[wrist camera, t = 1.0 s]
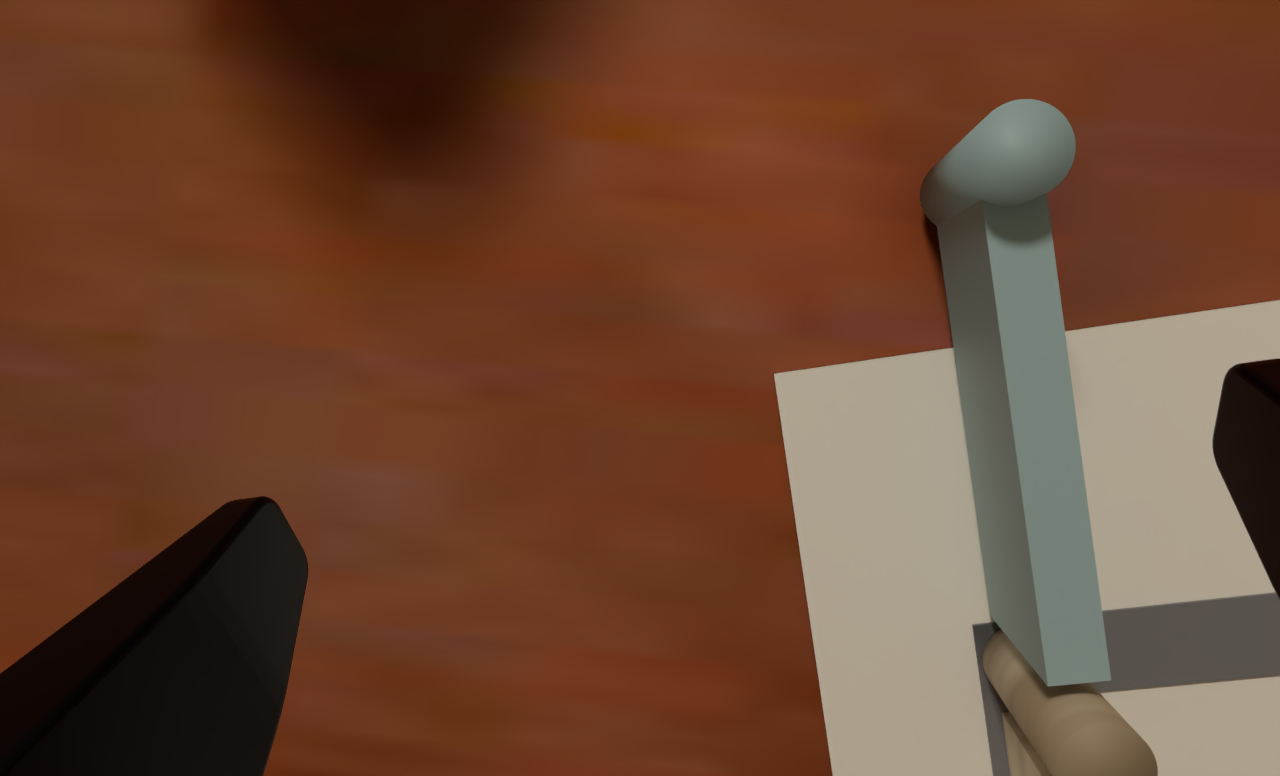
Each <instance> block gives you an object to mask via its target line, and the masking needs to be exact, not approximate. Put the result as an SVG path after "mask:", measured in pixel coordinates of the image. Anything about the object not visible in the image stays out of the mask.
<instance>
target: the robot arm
mask: <svg viewBox="0 0 1280 776" xmlns="http://www.w3.org/2000/svg"><path fill="white" fill-rule="evenodd" d="M1212 448H1213V454H1214V458H1215V462H1216V465H1217V467H1218V469H1219V472H1220V474H1221V476H1222V478H1223V480H1224V482H1225V485H1226V487H1227V489H1228V491H1229V493H1230V495H1231V498H1232V500H1233V502H1234V504H1235V506H1236V508H1237V511H1238V513H1239V515H1240V517H1241V519H1242V521H1243V524H1244V526H1245V528H1246V530H1247V532H1248V534H1249V537H1250V539H1251V541H1252V543H1253V545H1254V547H1255V550H1256V552H1257V554H1258V556H1259V558H1260V560H1261V563H1262V565H1263V567H1264V569H1265V571H1266V573H1267V575H1268V578H1269V580H1270V582H1271V584H1272V586H1273V588H1274V590H1275V592H1276V594H1277V596H1278V598H1279V600H1280V359H1279V358H1277V359H1269V360H1261V361H1254V362H1247V363H1240V364H1236V365H1234V366H1233V367H1231V368H1230V369H1229V370H1228V371H1227V373H1226V375H1225V377H1224V381H1223V385H1222V390H1221V395H1220V401H1219V406H1218V411H1217V416H1216V422H1215V427H1214V432H1213V439H1212ZM307 579H308V563H307V558H306V555H305V552H304V550H303V548H302V546H301V545H300V543H299V541H298V539H297V537H296V536H295V534H294V532H293V530H292V529H291V527H290V525H289V523H288V521H287V520H286V518H285V516H284V514H283V513H282V511H281V509H280V507H279V506H278V504H277V503H276V502H275V501H274V500H272V499H271V498H268V497H264V496H261V497H254V498H247V499H239V500H233V501H230V502H228V503H226V504H224V505H223V506H221V507H220V508H219V509H218V510H216V511H215V512H214V513H212V514H211V515H210V516H208V517H207V518H206V519H204V520H203V521H202V522H200V523H199V524H198V525H196V526H195V527H194V528H192V529H191V530H190V531H188V532H187V533H186V534H184V535H183V536H182V537H180V538H179V539H178V540H177V541H175V542H174V543H173V544H171V545H170V546H169V547H167V548H166V549H165V550H163V551H162V552H161V553H159V554H158V555H157V556H155V557H154V558H153V559H151V560H150V561H149V562H147V563H146V564H145V565H143V566H142V567H141V568H140V569H138V570H137V571H136V572H134V573H133V574H132V575H130V576H129V577H128V578H126V579H125V580H124V581H122V582H121V583H120V584H118V585H117V586H116V587H114V588H113V589H112V590H110V591H109V592H108V593H106V594H105V595H104V596H102V597H101V598H100V599H99V600H97V601H96V602H95V603H93V604H92V605H91V606H89V607H88V608H87V609H85V610H84V611H83V612H81V613H80V614H79V615H77V616H76V617H75V618H73V619H72V620H71V621H69V622H68V623H67V624H65V625H64V626H63V627H62V628H60V629H59V630H58V631H56V632H55V633H54V634H52V635H51V636H50V637H48V638H47V639H46V640H44V641H43V642H42V643H40V644H39V645H38V646H36V647H35V648H34V649H32V650H31V651H30V652H28V653H27V654H26V655H24V656H23V657H22V658H21V659H19V660H18V661H17V662H15V663H14V664H13V665H11V666H10V667H9V668H7V669H6V670H5V671H3V672H2V673H1V674H0V776H263V774H264V771H265V767H266V764H267V761H268V757H269V754H270V751H271V747H272V744H273V741H274V738H275V734H276V730H277V727H278V723H279V719H280V716H281V712H282V708H283V703H284V699H285V694H286V690H287V685H288V679H289V674H290V669H291V663H292V658H293V653H294V647H295V642H296V637H297V632H298V626H299V621H300V616H301V610H302V605H303V600H304V595H305V589H306V584H307Z"/></svg>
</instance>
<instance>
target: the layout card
mask: <svg viewBox="0 0 1280 776" xmlns="http://www.w3.org/2000/svg"><path fill="white" fill-rule="evenodd" d="M1065 336H1066V344H1067V351H1068V359H1069V366H1070V374H1071V381H1072V389H1073V396H1074V404H1075V411H1076V419H1077V426H1078V434H1079V441H1080V449H1081V456H1082V464H1083V471H1084V479H1085V487H1086V494H1087V502H1088V509H1089V517H1090V524H1091V532H1092V539H1093V547H1094V554H1095V562H1096V569H1097V577H1098V584H1099V592H1100V599H1101V607H1102V614H1103V622H1104V629H1105V637H1106V644H1107V652H1108V659H1109V667H1110V675H1111V681H1101V682H1091V684H1092V685H1093V686H1094V687H1095V689H1096V690H1097V691H1098V692H1099V693H1100V694H1101V695H1102V696H1103V697H1104V698H1105V699H1106V700H1107V701H1108V702H1109V703H1110V705H1111V706H1112V707H1113V708H1114V709H1115V710H1116V711H1117V712H1118V713H1119V714H1120V715H1121V716H1122V717H1123V718H1124V719H1125V721H1126V722H1127V723H1128V724H1129V725H1130V726H1131V727H1132V728H1133V729H1134V730H1135V731H1136V732H1137V733H1138V734H1139V735H1140V736H1141V738H1142V739H1143V740H1144V741H1145V742H1146V743H1147V744H1148V745H1149V747H1150V748H1151V750H1152V752H1153V754H1154V756H1155V759H1156V762H1157V767H1158V776H1280V600H1279V598H1278V596H1277V594H1276V592H1275V590H1274V588H1273V586H1272V584H1271V582H1270V580H1269V578H1268V575H1267V573H1266V571H1265V569H1264V567H1263V565H1262V563H1261V560H1260V558H1259V556H1258V554H1257V552H1256V550H1255V547H1254V545H1253V543H1252V541H1251V539H1250V537H1249V534H1248V532H1247V530H1246V528H1245V526H1244V524H1243V521H1242V519H1241V517H1240V515H1239V513H1238V511H1237V508H1236V506H1235V504H1234V502H1233V500H1232V498H1231V495H1230V493H1229V491H1228V489H1227V487H1226V485H1225V482H1224V480H1223V478H1222V476H1221V474H1220V472H1219V469H1218V467H1217V465H1216V462H1215V458H1214V454H1213V448H1212V439H1213V432H1214V427H1215V422H1216V416H1217V411H1218V406H1219V401H1220V395H1221V390H1222V385H1223V381H1224V377H1225V375H1226V373H1227V371H1228V370H1229V369H1230V368H1231V367H1233V366H1234V365H1236V364H1240V363H1247V362H1254V361H1261V360H1269V359H1277V358H1279V359H1280V300H1276V301H1269V302H1262V303H1255V304H1248V305H1241V306H1234V307H1228V308H1221V309H1214V310H1207V311H1200V312H1193V313H1187V314H1180V315H1173V316H1166V317H1159V318H1152V319H1145V320H1139V321H1132V322H1125V323H1118V324H1111V325H1104V326H1097V327H1091V328H1084V329H1077V330H1070V331H1065ZM774 378H775V384H776V391H777V398H778V405H779V412H780V419H781V425H782V432H783V439H784V446H785V453H786V460H787V466H788V473H789V480H790V487H791V494H792V501H793V507H794V514H795V521H796V528H797V535H798V542H799V548H800V555H801V562H802V569H803V576H804V583H805V589H806V596H807V603H808V610H809V617H810V624H811V630H812V637H813V644H814V651H815V658H816V664H817V671H818V678H819V685H820V692H821V699H822V705H823V712H824V719H825V726H826V733H827V740H828V746H829V753H830V760H831V767H832V774H833V776H1010V770H1009V763H1008V756H1007V749H1006V742H1005V734H1004V727H1003V720H1002V713H1004V712H1010V711H1009V710H1008V708H1007V707H1006V705H1005V704H1004V702H1003V700H1002V699H1001V697H1000V696H999V694H998V693H997V691H996V690H995V688H994V687H993V685H992V684H991V682H990V681H989V679H988V678H987V676H986V674H985V672H984V669H983V665H982V654H983V650H984V647H985V645H986V643H987V641H988V640H989V638H990V637H991V636H992V635H993V634H994V633H996V632H997V631H999V630H1000V629H1001V628H1000V627H999V626H998V624H997V623H996V622H995V621H994V619H993V618H992V617H991V615H990V608H989V601H988V594H987V586H986V579H985V572H984V565H983V557H982V550H981V543H980V536H979V528H978V521H977V514H976V507H975V499H974V492H973V485H972V478H971V470H970V463H969V456H968V449H967V441H966V434H965V427H964V420H963V413H962V405H961V398H960V391H959V384H958V376H957V369H956V362H955V355H954V348H947V349H940V350H933V351H926V352H919V353H913V354H906V355H899V356H892V357H885V358H878V359H871V360H865V361H858V362H851V363H844V364H837V365H830V366H823V367H817V368H810V369H803V370H796V371H789V372H782V373H776V374H774Z"/></svg>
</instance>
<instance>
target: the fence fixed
mask: <svg viewBox="0 0 1280 776" xmlns="http://www.w3.org/2000/svg"><path fill="white" fill-rule="evenodd" d="M982 665H983V669H984V672H985V674H986V676H987V678H988V679H989V681H990V682H991V684H992V685H993V687H994V688H995V690H996V691H997V693H998V694H999V696H1000V697H1001V699H1002V700H1003V702H1004V704H1005V705H1006V707H1007V708H1008V710H1009V711H1010V712H1004V713H1002V720H1003V727H1004V734H1005V742H1006V749H1007V756H1008V763H1009V770H1010V776H1158V767H1157V762H1156V759H1155V756H1154V754H1153V752H1152V750H1151V748H1150V747H1149V745H1148V744H1147V743H1146V742H1145V741H1144V740H1143V739H1142V738H1141V736H1140V735H1139V734H1138V733H1137V732H1136V731H1135V730H1134V729H1133V728H1132V727H1131V726H1130V725H1129V724H1128V723H1127V722H1126V721H1125V719H1124V718H1123V717H1122V716H1121V715H1120V714H1119V713H1118V712H1117V711H1116V710H1115V709H1114V708H1113V707H1112V706H1111V705H1110V703H1109V702H1108V701H1107V700H1106V699H1105V698H1104V697H1103V696H1102V695H1101V694H1100V693H1099V692H1098V691H1097V690H1096V689H1095V687H1094V686H1093V685H1092V684H1091V683H1080V684H1070V685H1059V686H1049V687H1048V686H1047V685H1046V684H1045V682H1044V681H1043V680H1042V679H1041V677H1040V676H1039V675H1038V674H1037V672H1036V671H1035V670H1034V669H1033V668H1032V666H1031V665H1030V664H1029V663H1028V661H1027V660H1026V659H1025V658H1024V656H1023V655H1022V654H1021V653H1020V652H1019V650H1018V649H1017V648H1016V647H1015V645H1014V644H1013V643H1012V642H1011V640H1010V639H1009V638H1008V637H1007V635H1006V634H1005V633H1004V632H1003V631H1002V629H1000V630H999V631H997V632H996V633H994V634H993V635H992V636H991V637H990V638H989V640H988V641H987V643H986V645H985V647H984V650H983V654H982Z"/></svg>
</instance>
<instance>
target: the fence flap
mask: <svg viewBox="0 0 1280 776" xmlns="http://www.w3.org/2000/svg"><path fill="white" fill-rule="evenodd" d="M1075 148H1076V146H1075V137H1074V133H1073V130H1072V127H1071V125H1070V124H1069V122H1068V120H1067V119H1066V117H1065V116H1064V115H1063V114H1062V113H1061V112H1060V111H1059V110H1057V109H1056V108H1055V107H1053V106H1051V105H1050V104H1047V103H1045V102H1042V101H1038V100H1033V99H1021V100H1015V101H1011V102H1008V103H1005V104H1003V105H1001V106H999V107H998V108H996V109H995V110H993V111H992V112H991V113H990V114H989V115H988V116H987V117H985V118H984V119H983V120H982V121H981V122H980V123H979V124H978V125H977V126H976V127H975V128H974V129H973V130H972V131H971V132H970V133H969V134H968V135H966V136H965V137H964V138H963V139H962V140H961V141H960V142H959V143H958V144H957V145H956V146H955V147H954V148H953V149H952V150H951V151H950V152H949V153H947V154H946V155H945V156H944V157H943V158H942V159H941V160H940V161H939V162H938V163H937V164H936V165H935V166H934V167H933V168H932V169H931V170H930V171H929V172H928V173H927V175H926V176H925V178H924V180H923V183H922V186H921V190H920V201H921V206H922V209H923V211H924V213H925V215H926V216H927V218H928V219H929V220H930V221H931V222H932V223H933V224H935V225H936V226H937V231H938V239H939V246H940V253H941V260H942V268H943V275H944V282H945V289H946V297H947V304H948V311H949V318H950V326H951V333H952V340H953V347H954V355H955V362H956V369H957V376H958V384H959V391H960V398H961V405H962V413H963V420H964V427H965V434H966V441H967V449H968V456H969V463H970V470H971V478H972V485H973V492H974V499H975V507H976V514H977V521H978V528H979V536H980V543H981V550H982V557H983V565H984V572H985V579H986V586H987V594H988V601H989V608H990V615H991V617H992V618H993V619H994V621H995V622H996V623H997V624H998V626H999V627H1000V628H1001V629H1002V631H1003V632H1004V633H1005V634H1006V635H1007V637H1008V638H1009V639H1010V640H1011V642H1012V643H1013V644H1014V645H1015V647H1016V648H1017V649H1018V650H1019V652H1020V653H1021V654H1022V655H1023V656H1024V658H1025V659H1026V660H1027V661H1028V663H1029V664H1030V665H1031V666H1032V668H1033V669H1034V670H1035V671H1036V672H1037V674H1038V675H1039V676H1040V677H1041V679H1042V680H1043V681H1044V682H1045V684H1046V685H1047V686H1048V687H1049V686H1059V685H1070V684H1080V683H1091V682H1101V681H1111V675H1110V667H1109V659H1108V652H1107V644H1106V637H1105V629H1104V622H1103V614H1102V607H1101V599H1100V592H1099V584H1098V577H1097V569H1096V562H1095V554H1094V547H1093V539H1092V532H1091V524H1090V517H1089V509H1088V502H1087V494H1086V487H1085V479H1084V471H1083V464H1082V456H1081V449H1080V441H1079V434H1078V426H1077V419H1076V411H1075V404H1074V396H1073V389H1072V381H1071V374H1070V366H1069V359H1068V351H1067V344H1066V336H1065V329H1064V321H1063V314H1062V306H1061V298H1060V291H1059V283H1058V276H1057V268H1056V261H1055V253H1054V246H1053V238H1052V231H1051V223H1050V216H1049V208H1048V201H1047V192H1049V191H1051V190H1052V189H1054V188H1055V187H1056V186H1057V185H1058V184H1060V183H1061V181H1062V180H1063V179H1064V178H1065V177H1066V175H1067V174H1068V172H1069V170H1070V168H1071V166H1072V163H1073V161H1074V156H1075Z"/></svg>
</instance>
